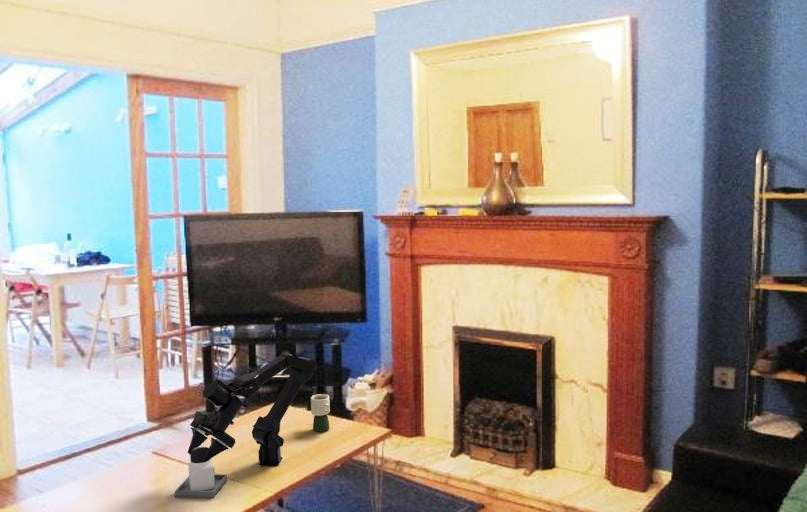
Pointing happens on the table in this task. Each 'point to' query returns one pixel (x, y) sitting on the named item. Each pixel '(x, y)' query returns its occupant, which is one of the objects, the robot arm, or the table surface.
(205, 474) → the medicine bottle
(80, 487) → the table surface
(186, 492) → the tray
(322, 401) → the character mug
